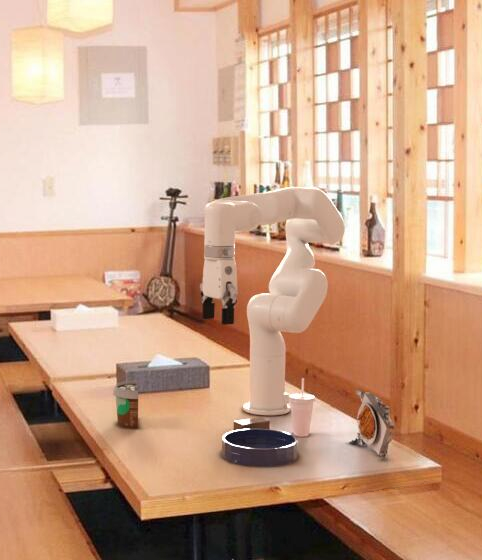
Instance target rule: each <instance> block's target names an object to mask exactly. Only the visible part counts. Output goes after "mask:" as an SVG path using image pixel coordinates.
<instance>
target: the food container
mask: <svg viewBox="0 0 482 560" xmlns="http://www.w3.org/2000/svg"><path fill="white" fill-rule="evenodd" d="M137 384H138V382H137V380H125V381H121V382H117V383H115V386H114V387H113V392H112V394H113V396H115V403H116V418H117V425H118V426H119V427H121V428H125V429H133V430H134V429H139V390H138V387H137Z"/></svg>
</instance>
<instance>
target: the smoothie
mask: <svg viewBox="0 0 482 560" xmlns="http://www.w3.org/2000/svg"><path fill="white" fill-rule="evenodd" d="M289 401H290V402H289V404H290V412H291V423H292V432H293V435H294V436H295V437H299V438H300V437H301V438H303V437H309V434H310V428H311V421H312V416H313V415H312V414H313V408H314V403H315V402H316V397H315V395H313V394H310V393H305V378H303V377H302V378H301V393H292V395H291V394H290V396H289Z"/></svg>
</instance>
